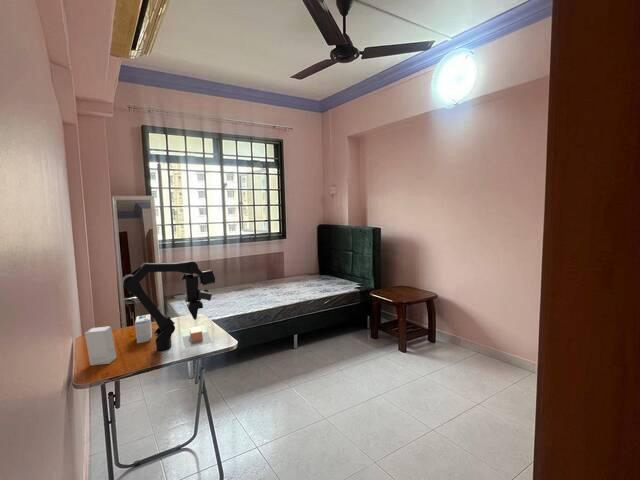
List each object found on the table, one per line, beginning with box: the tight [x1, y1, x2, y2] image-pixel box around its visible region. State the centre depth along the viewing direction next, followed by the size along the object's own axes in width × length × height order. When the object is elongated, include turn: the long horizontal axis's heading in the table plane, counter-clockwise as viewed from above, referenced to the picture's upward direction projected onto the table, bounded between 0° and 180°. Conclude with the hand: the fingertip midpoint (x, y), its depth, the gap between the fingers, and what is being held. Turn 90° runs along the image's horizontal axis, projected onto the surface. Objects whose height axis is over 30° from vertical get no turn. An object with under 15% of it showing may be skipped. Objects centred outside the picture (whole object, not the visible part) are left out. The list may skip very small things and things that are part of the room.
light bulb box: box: [134, 313, 153, 344], centre depth 171 cm, size 11×7×11 cm, turn 25°
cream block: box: [188, 325, 203, 342], centre depth 165 cm, size 4×5×9 cm
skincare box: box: [84, 325, 117, 366], centre depth 145 cm, size 8×6×15 cm
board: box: [180, 324, 213, 349], centre depth 168 cm, size 28×12×1 cm, turn 26°
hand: (195, 319), depth 161 cm, fingers closed
